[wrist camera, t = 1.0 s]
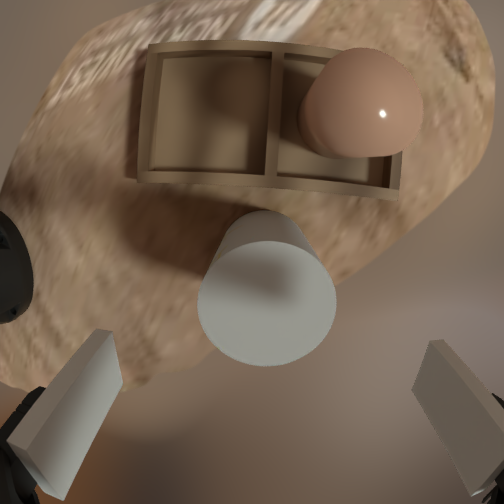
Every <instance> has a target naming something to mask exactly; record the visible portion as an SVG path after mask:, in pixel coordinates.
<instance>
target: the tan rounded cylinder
mask: <svg viewBox="0 0 504 504" xmlns="http://www.w3.org/2000/svg"><path fill="white" fill-rule="evenodd" d="M422 121H423V101H422V97H421V93H420V90H419V88H418V86H417V84H416V82H415V80H414V78H413V77H412V75H411V74H410V73H409V71H408V70H407V69H406V68H405V67H404V66H403V65H402V64H401V63H400V62H398V61H397V60H396V59H394V58H393V57H391V56H389V55H388V54H386V53H383V52H381V51H378V50H375V49H370V48H352V49H348V50H345V51H343V52H340V53H339V54H337V55H335V56H334V57H333V58H331V59H330V60H329V61H328V63H327V64H326V65H325V66H324V68H323V69H322V71H321V72H320V74H319V75H318V77H317V78H316V80H315V81H314V83H313V84H312V86H311V87H310V89H309V90H308V92H307V93H306V95H305V96H304V98H303V99H302V101H301V103H300V105H299V107H298V111H297V127H298V131H299V133H300V136H301V137H302V139H303V141H304V142H305V143H306V145H307V146H308V147H309V148H310V149H311V150H313V151H314V152H316V153H317V154H319V155H321V156H323V157H326V158H331V159H347V158H361V157H378V156H389V155H393V154H396V153H399V152H400V151H402V150H404V149H405V148H407V147H408V146H409V145H410V144H411V143H412V142H413V141H414V139H415V138H416V137H417V135H418V133H419V131H420V128H421V125H422Z"/></svg>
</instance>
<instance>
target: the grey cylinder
mask: <svg viewBox="0 0 504 504" xmlns="http://www.w3.org/2000/svg"><path fill="white" fill-rule="evenodd" d="M197 306H198V315H199V320H200V323H201V325H202V328H203V330H204V332H205V334H206V335H207V337H208V338H209V339H210V341H211V342H212V343H213V344H214V345H215V346H216V347H217V348H218V349H219V350H220V351H222V352H223V353H224V354H226V355H228V356H229V357H231V358H233V359H235V360H238V361H240V362H243V363H246V364H250V365H256V366H275V365H282V364H286V363H289V362H292V361H295V360H297V359H299V358H301V357H303V356H305V355H306V354H308V353H309V352H311V351H312V350H313V349H314V348H315V347H317V346H318V345H319V344H320V343H321V341H322V340H323V339H324V338H325V336H326V335H327V333H328V332H329V330H330V327H331V326H332V323H333V320H334V317H335V313H336V293H335V288H334V285H333V282H332V279H331V277H330V275H329V274H328V272H327V270H326V269H325V267H324V266H323V264H322V262H321V261H320V259H319V258H318V256H317V255H316V253H315V251H314V250H313V248H312V247H311V245H310V244H309V242H308V240H307V239H306V237H305V236H304V234H303V233H302V231H301V230H300V228H299V227H298V226H297V224H296V223H295V222H294V221H292V220H291V219H290V218H288V217H287V216H285V215H283V214H281V213H278V212H275V211H268V210H260V211H254V212H250V213H248V214H245V215H243V216H242V217H240V218H238V219H237V220H236V221H235V222H234V223H233V224H232V225H231V226H230V227H229V229H228V230H227V232H226V234H225V235H224V237H223V240H222V242H221V244H220V246H219V248H218V250H217V252H216V254H215V256H214V258H213V260H212V262H211V264H210V266H209V268H208V270H207V273H206V275H205V277H204V279H203V281H202V283H201V286H200V289H199V294H198V303H197Z"/></svg>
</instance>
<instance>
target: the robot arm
mask: <svg viewBox="0 0 504 504" xmlns="http://www.w3.org/2000/svg"><path fill="white" fill-rule="evenodd" d="M32 295H33V271H32V265H31V261H30V257H29V254H28V251H27V248H26V245H25V243H24V241H23V238H22V236H21V235H20V233H19V231H18V229H17V228H16V226H15V225H14V224H13V222H12V221H11V220H10V219H9V218H8V217H7V216H6V215H5V214H3V213H2V212H0V324H4V323H9V322H11V321H13V320H15V319H16V318H18V317H19V316H20V315H22V314H23V313H24V312H25V311H26V310H27V309H28V307H29V305H30V303H31V300H32ZM122 385H123V381H122V377H121V372H120V368H119V363H118V358H117V353H116V348H115V343H114V338H113V332H112V331H107V330H101V329H96V330H95V331H94V332H93V333H92V334H91V335H90V336H89V338H88V339H87V340H86V341H85V342H84V343H83V345H82V346H81V347H80V348H79V349H78V350H77V352H76V353H75V354H74V355H73V356H72V358H71V359H70V360H69V361H68V362H67V364H66V365H65V366H64V367H63V368H62V370H61V371H60V372H59V373H58V374H57V376H56V377H55V378H54V379H53V381H52V382H51V383H50V384H49V385H48V387H47V388H44V387H41V386H39V387H38V388H36V389H35V390H33V391H31V392H30V393H29V394H28V395H27V396H26V397H25V398H24V400H23V401H22V404H19V406H18V407H17V408H16V411H14V412H13V413H12V414H11V416H10V417H9V418H8V420H7V421H6V422H5V423H4V425H3V426H2V427H1V429H0V504H40V502H39V499H38V496H37V494H36V492H35V490H34V489H35V487H36V485H37V484H38V485H39V486H40V487H41V489H42V490H43V491H44V492H45V493H47V494H49V495H51V496H54V497H56V498H58V499H60V500H63V501H64V499H65V496H66V494H67V492H68V490H69V488H70V486H71V484H72V482H73V480H74V477H75V475H76V473H77V471H78V469H79V467H80V465H81V463H82V461H83V459H84V457H85V455H86V453H87V451H88V449H89V447H90V445H91V443H92V441H93V439H94V437H95V436H96V434H97V432H98V430H99V428H100V426H101V424H102V422H103V420H104V418H105V416H106V414H107V413H108V411H109V409H110V407H111V405H112V403H113V401H114V399H115V398H116V396H117V394H118V392H119V390H120V388H121V387H122ZM412 391H413V393H414V395H415V396H416V398H417V400H418V401H419V403H420V405H421V407H422V408H423V410H424V412H425V413H426V415H427V417H428V419H429V420H430V422H431V424H432V425H433V427H434V429H435V430H436V432H437V434H438V436H439V438H440V440H441V441H442V443H443V445H444V447H445V449H446V450H447V452H448V454H449V456H450V458H451V460H452V461H453V463H454V465H455V467H456V469H457V471H458V473H459V475H460V477H461V478H462V481H463V482H464V484H465V486H466V488H467V490H468V492H469V494H470V496H473V495H475V494H477V493H480V492H482V491H484V490H485V489H486V488H488V486H489V485H490V484H491V483H492V482H493V481H494V480H495V481H496V483H497V485H496V486H495V487H494V488H493V489H492V490H491V491H490V492H489V493H488V494H487V495H486V496H485V497H484V499H483V501H482V503H484V502H485V501H486V500H487V499H488V498H489V497H490V496H491V499H490V500H489V501H488V503H487V504H504V401H503V400H502V399H501V398H499V397H498V396H496V395H495V394H493V393H492V394H491V393H490V392H489V391H488V389H487V388H486V387H485V386H484V385H483V384H482V382H481V381H480V380H479V379H478V378H477V377H476V375H475V374H474V373H473V372H472V371H471V370H470V369H469V368H468V366H467V365H466V364H465V363H464V362H463V361H462V360H461V359H460V357H459V356H458V355H457V354H456V353H455V352H454V351H453V350H452V349H451V347H450V346H448V344H447V343H446V342H445V341H444V340H434V341H430V342H429V345H428V347H427V350H426V353H425V356H424V359H423V362H422V365H421V367H420V370H419V373H418V375H417V378H416V380H415V383H414V385H413V388H412Z"/></svg>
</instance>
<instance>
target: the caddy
mask: <svg viewBox="0 0 504 504" xmlns="http://www.w3.org/2000/svg"><path fill="white" fill-rule="evenodd" d="M340 52H343V51H341V50H336V49H330V48H323V47H316V46H309V45H301V44H292V43H281V42H268V41H249V40H199V41H180V42H167V43H157V44H149V46H148V52H147V59H146V67H145V74H144V83H143V92H142V102H141V113H140V125H139V140H138V160H137V183H180V184H210V185H232V186H249V187H265V188H279V189H291V190H303V191H314V192H324V193H334V194H344V195H353V196H361V197H369V198H377V199H385V200H393V201H398V196H399V186H400V176H401V164H402V151H400V152H399V153H396V154H393V155H389V156H378V157H361V158H347V159H331V158H326V157H323V156H321V155H319V154H317V153H316V152H314V151H313V150H311V149H310V148H309V147H308V146H307V145H306V143H305V142H304V141H303V139H302V137H301V136H300V133H299V131H298V127H297V111H298V107H299V105H300V103H301V101H302V99H303V98H304V96H305V95H306V93H307V92H308V90H309V89H310V87H311V86H312V84H313V83H314V81H315V80H316V78H317V77H318V75H319V74H320V72H321V71H322V69H323V68H324V66H325V65H326V64H327V63H328V61H329V60H330V59H331V58H333V57H334V56H335V55H337V54H339V53H340Z"/></svg>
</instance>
